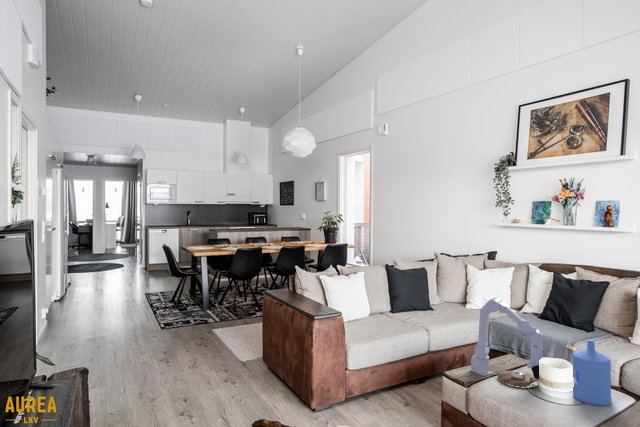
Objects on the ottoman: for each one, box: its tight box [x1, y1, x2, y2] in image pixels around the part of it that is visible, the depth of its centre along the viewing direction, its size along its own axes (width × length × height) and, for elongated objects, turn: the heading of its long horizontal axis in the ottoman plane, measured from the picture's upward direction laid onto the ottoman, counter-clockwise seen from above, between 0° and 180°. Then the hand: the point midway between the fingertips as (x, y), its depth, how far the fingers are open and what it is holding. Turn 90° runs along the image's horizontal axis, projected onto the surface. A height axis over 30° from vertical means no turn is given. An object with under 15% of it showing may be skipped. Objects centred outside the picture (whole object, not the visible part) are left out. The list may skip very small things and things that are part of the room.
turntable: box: [497, 370, 539, 387], centre depth 220 cm, size 20×20×4 cm
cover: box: [511, 370, 526, 381], centre depth 220 cm, size 7×7×3 cm
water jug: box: [572, 340, 612, 407], centre depth 198 cm, size 16×16×28 cm
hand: (536, 378), depth 216 cm, fingers closed
